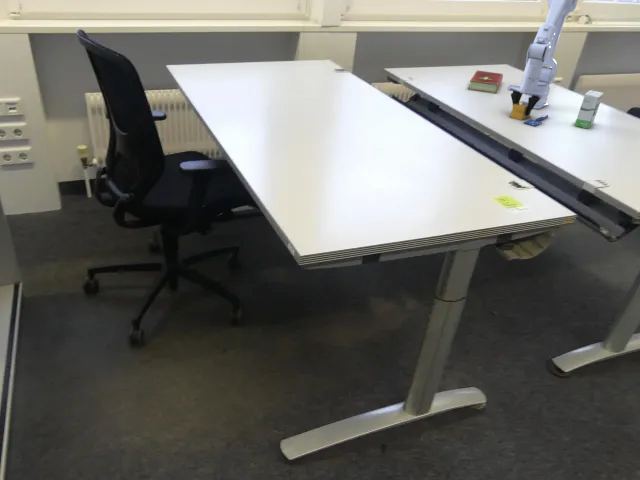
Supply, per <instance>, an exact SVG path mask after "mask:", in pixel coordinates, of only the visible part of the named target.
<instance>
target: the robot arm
mask: <svg viewBox="0 0 640 480" xmlns="http://www.w3.org/2000/svg"><path fill="white" fill-rule="evenodd" d="M578 2H579V0H547V5H548V9H549V10H548V14H547V16H546V19H545V22H544V23H543V24H541V26H539V28H538V31H537V33H536V36H535V38H534V40H533V42H532V43H530V44H529V46H528V49H527V52H526V59H525V67H524V70H523V75H522V78H521V82H520V85H514V84H509V85H508V87H507V89H506V90H507V91H508V92H511V93H510V98H511V102H512V106H513V105H514V104H516V103H519V102H521V99H522V97H523V95H525V96H524V100H523V101H524V102H528V107H527V110H526V114H525V115H526V116H528V115H529V114H530V115H531V113H532V110H533V109H536V110H539V109H541V108H544V107H547V106H548V105H549V104H548V103H547V100H548V98H549V94H550V91H551V86H550V85H551V84H553V83H554V81H555V77H556V75H557V72H558V68H559V67H558V66H559V65H558V63H557V61H556V60H555V59H554V55H555V52H556V50H557V47H558V43H559V40H560V38H561V37H560V36H561V34H562V30H563V27H564V24H565V21H566V18H567V17H568V15H569V13H573V12H574V11H575V9H576V7H577V4H578ZM530 112H531V113H530Z"/></svg>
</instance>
